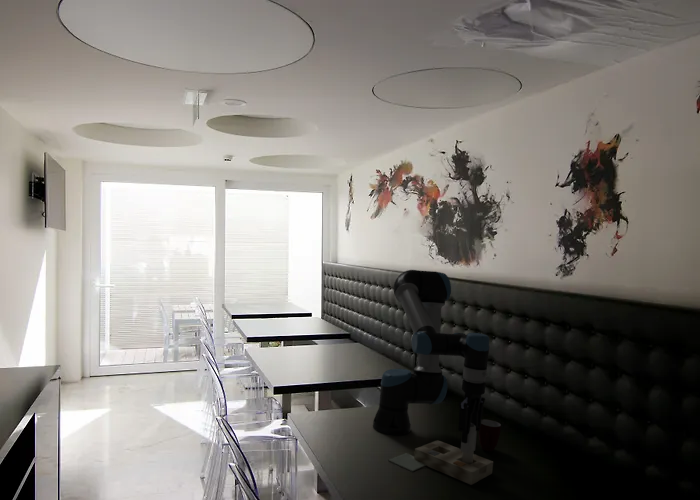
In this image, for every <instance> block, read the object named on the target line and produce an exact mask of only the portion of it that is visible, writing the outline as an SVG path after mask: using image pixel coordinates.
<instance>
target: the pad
mask: <svg viewBox="0 0 700 500" xmlns="http://www.w3.org/2000/svg"><path fill="white" fill-rule="evenodd" d="M414 456H415V455H411V454H410V453H407V452H405V453H402V454H399V455H397V456H395V457H391V458H389V459H387V461H388V462H390V463H392V464H393V465H397V466H399V467H400V468H402V469H403V468H404V469H405V470H408V471H410V472H412V473H413V472H415V471H417V470H419V469H422V468H424V467H427V466H426V464H424V463H422V462H419V461H417V460H415V459H414Z"/></svg>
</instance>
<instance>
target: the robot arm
mask: <svg viewBox="0 0 700 500" xmlns="http://www.w3.org/2000/svg"><path fill="white" fill-rule="evenodd" d="M393 293H394V297H395V299H396V300H397V302H399V303H400V304H401V307H402V308H403V311H404V313H405V316H406V318H407V321H408V323H409V325H410V328H411V330H412V332H413V334H412V337H411V350H412V351H413V352H414V353H415V354H418V355H417V365H416V366H415V367H414V368H413V373H412V372H411V370H410V369H405V368H392V369H387V370H386V371H384V372H383V373H382V376H381V381H380V390H379V391H380V392H379V393H380V394H379V403H378V409H377V412H376V414H375V416H374V419H373V420H372V421H373V422H372V428H373V429H374V430H376V431H377V432H378V433H379V432H380V433H381V434H385V435H389V436H390V435H391V436H404V435H408V434H410V432H411V427H412V425H411V421H410V416H409V404H421V405H422V404H427V405H436V404H437V405H438V404H441V403H442V402H443V401H444V400H445V399H446V395H447V392H448V382H447V380H448V379H447V376H446V375H444V374H443V370H442V369H441V367H440V356H447V357H448V356H453V357H462V358H464V360H463V370H462V378H463V379H462V382H461V391H463V392H464V397H463V401H459V402H458V406H459V411H458V414H459V415H458V432H461V441H460V449H461V450H460V451H462V452H464V453H467V454H468V453H469V446H470V435H471V433H469V431H470V425H471V423H473V424H474V425H475V426H476V432H475V443H474V451H476V443H477V434H478V432H479V431H480V428H478V427H481V421H482V420H483V410H484V404H485V400H486V398H485V397H482V395H485V393H486V386H487V385H486V381H487V376H488V373H487V370H488V361H489V354H490V353H489V352H490V337H489V336H488V335H487V334H483V333H478V332H469V333H467V334H466V333H464V332H463V333H462V332H454V333H443V332H441V325H442V324H441V323H442V322H441V321H442V318H441V317H442V308H443V307H444V306H445V305H446V301H448V300H449V299H450V298H451V294H452V284H451V281H450V278H449V276H448V275H447V274H446V273H444V272H440V271H436V270H435V271H433V270H420V269H419V270H417V269H409V270H408V269H407V270H406V271H403V272H401V273H400V274H399V275H398V277H397V278H396V279H395V281H394V284H393Z"/></svg>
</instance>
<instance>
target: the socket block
mask: <svg viewBox="0 0 700 500" xmlns="http://www.w3.org/2000/svg"><path fill="white" fill-rule="evenodd" d="M460 450H461V448H460V447H456V446H453V445H451V444H449V443H446V442H444V441H441V440H438V439H437V440H433V441H431V442H429V443H427V444H423V445H422V446H419V447H416V448H414V455H413V456H414V459H415V460H417V461H419V462H422V463H424V464H426V466H425V467H428V468H430V469H433V470H435V471H438V472H441V473H442V474H445V475H447V476H449V477H452V478H454V479H456V480H458V481H461V482H463V483H466V484H467V485H470V486H472V485H474V484H476V483H477V482H479V481H482V480H483V479H484V478H487V477H488V476H490V475H492V474H493V468H494V461H493V460H490V459H488V458H485V457H482V456H480V455H477V454H475V453H474V454H473V463H472V464H470V465H469V464H466V463H464V462H462V451H460Z"/></svg>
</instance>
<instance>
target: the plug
mask: <svg viewBox="0 0 700 500" xmlns="http://www.w3.org/2000/svg"><path fill="white" fill-rule="evenodd" d="M475 432H476V426H475V425H474V424H473V423H471V425H470V431H469V433H471V435H470V446H469V453H468V454H467V453H464V452H462V462H464V463H466V464H469V465H470V464H472V463H473V454H475V453H474V443H475Z"/></svg>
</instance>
